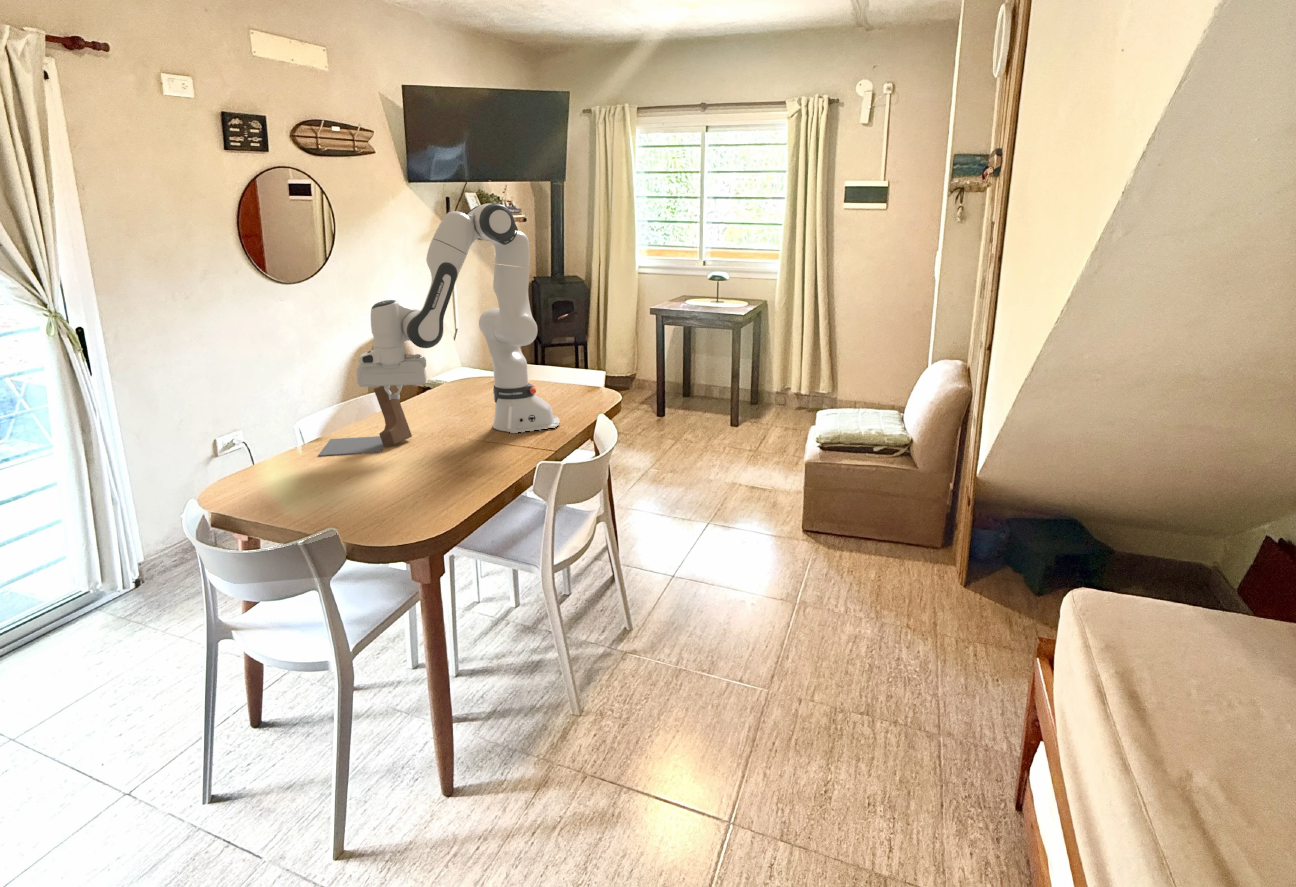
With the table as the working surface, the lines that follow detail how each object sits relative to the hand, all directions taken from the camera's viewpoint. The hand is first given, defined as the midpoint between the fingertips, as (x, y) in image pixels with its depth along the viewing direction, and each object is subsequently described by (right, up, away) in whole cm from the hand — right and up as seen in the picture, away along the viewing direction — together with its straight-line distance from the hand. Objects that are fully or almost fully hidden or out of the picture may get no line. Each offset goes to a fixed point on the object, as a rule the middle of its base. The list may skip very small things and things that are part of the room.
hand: (394, 399), depth 229 cm
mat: (-13, -15, +3) cm, 20 cm away
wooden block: (0, -13, +5) cm, 14 cm away
